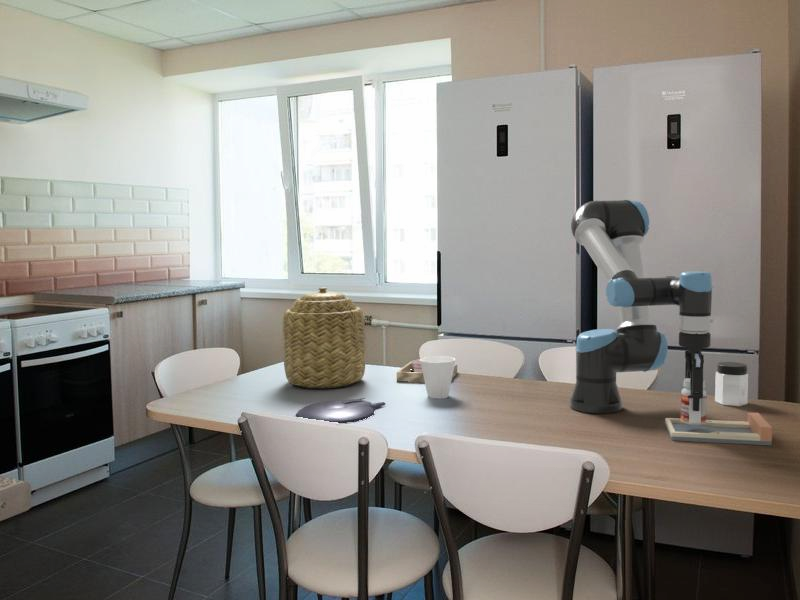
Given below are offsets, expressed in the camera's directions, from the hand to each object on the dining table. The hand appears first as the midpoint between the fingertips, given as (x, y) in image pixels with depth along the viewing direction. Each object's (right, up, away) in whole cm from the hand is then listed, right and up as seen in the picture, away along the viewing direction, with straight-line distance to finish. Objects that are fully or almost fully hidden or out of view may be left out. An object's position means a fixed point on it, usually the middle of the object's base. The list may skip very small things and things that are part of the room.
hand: (692, 418), depth 179 cm
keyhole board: (+5, -4, -1) cm, 7 cm away
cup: (-64, -1, +47) cm, 80 cm away
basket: (-104, +1, +73) cm, 127 cm away
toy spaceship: (-95, -4, +30) cm, 99 cm away
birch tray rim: (-66, +2, +78) cm, 102 cm away
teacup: (-69, +2, +78) cm, 104 cm away
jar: (+25, -1, +31) cm, 40 cm away
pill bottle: (0, -1, 0) cm, 1 cm away
